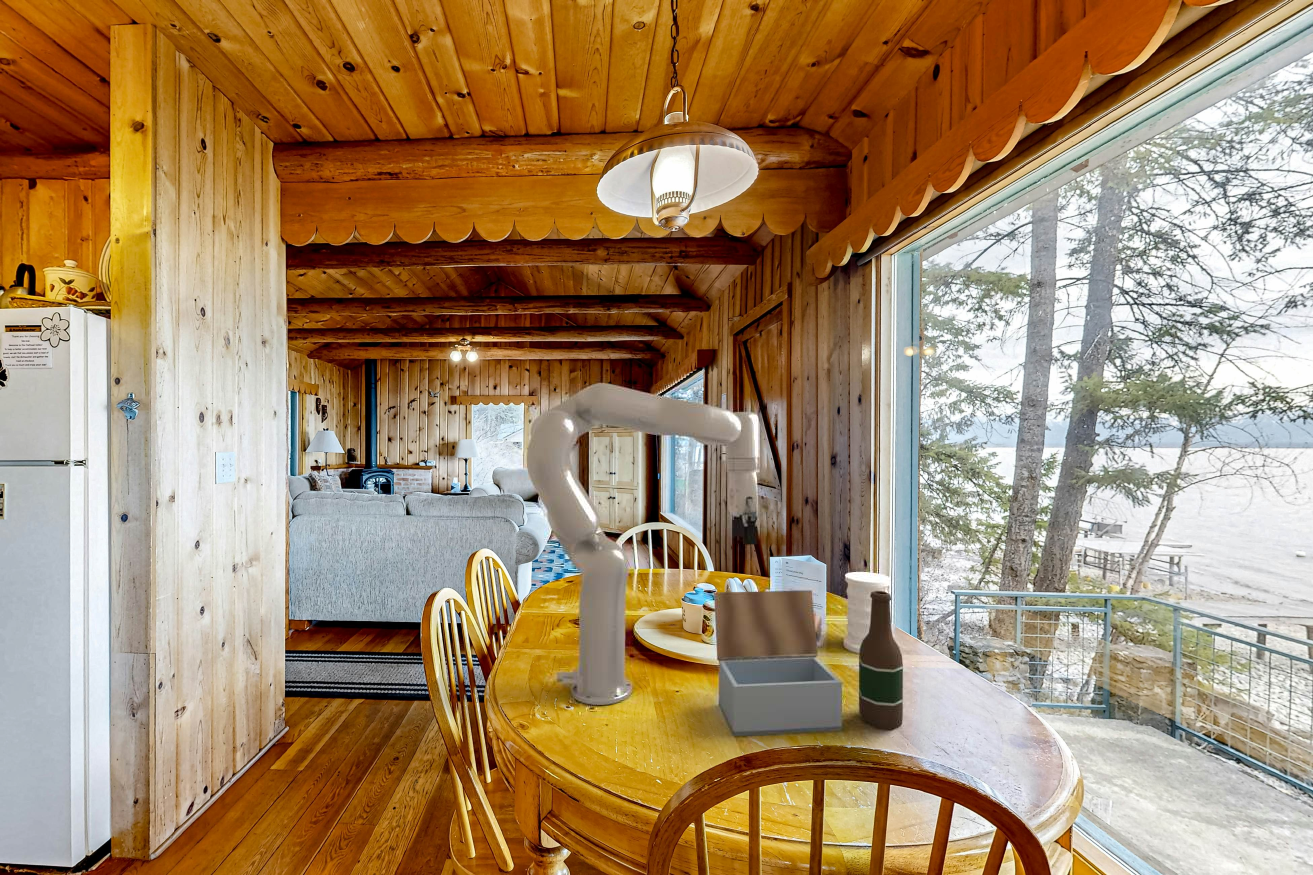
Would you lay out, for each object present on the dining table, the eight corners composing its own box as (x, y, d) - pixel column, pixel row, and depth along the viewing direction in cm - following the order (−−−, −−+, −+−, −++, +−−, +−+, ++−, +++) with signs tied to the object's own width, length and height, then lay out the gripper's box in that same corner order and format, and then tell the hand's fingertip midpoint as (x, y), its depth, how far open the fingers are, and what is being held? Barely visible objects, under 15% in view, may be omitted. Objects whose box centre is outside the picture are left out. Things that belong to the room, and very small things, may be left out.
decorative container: (869, 637, 149) (869, 570, 150) (902, 652, 139) (902, 580, 139) (833, 642, 145) (834, 573, 146) (864, 658, 135) (865, 584, 135)
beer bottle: (899, 735, 99) (899, 600, 99) (854, 723, 103) (854, 593, 103) (905, 716, 106) (906, 590, 106) (863, 706, 110) (863, 585, 110)
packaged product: (792, 607, 162) (827, 611, 158) (792, 623, 162) (827, 628, 158) (782, 625, 145) (822, 630, 141) (782, 644, 145) (822, 649, 141)
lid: (714, 592, 113) (714, 592, 114) (718, 660, 110) (717, 660, 110) (811, 590, 115) (810, 590, 116) (817, 656, 112) (816, 656, 113)
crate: (733, 736, 98) (734, 686, 98) (718, 704, 110) (718, 660, 110) (841, 730, 100) (842, 681, 100) (815, 700, 112) (815, 656, 112)
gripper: (719, 464, 136) (720, 534, 136) (736, 468, 118) (737, 548, 118) (749, 463, 136) (750, 533, 136) (770, 467, 119) (771, 546, 119)
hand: (744, 540), depth 127 cm, fingers open, 9 cm apart
